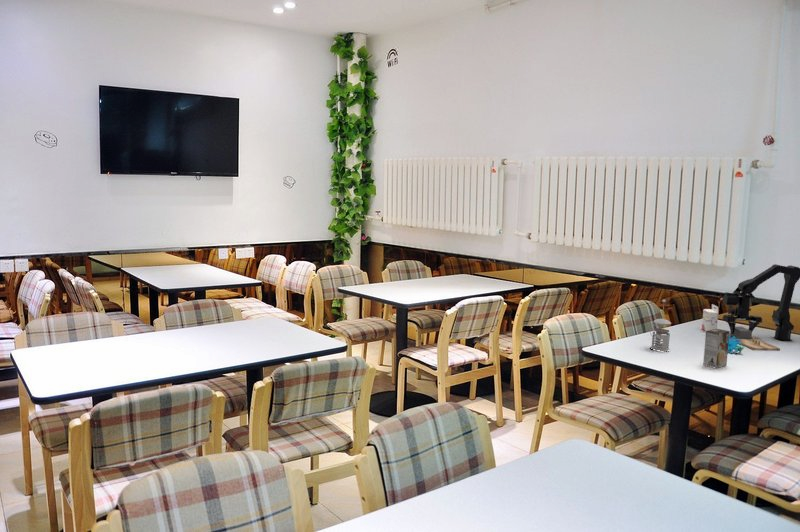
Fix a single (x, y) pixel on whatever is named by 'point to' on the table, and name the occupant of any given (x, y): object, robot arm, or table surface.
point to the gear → (734, 345)
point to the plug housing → (741, 333)
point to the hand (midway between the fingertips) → (740, 334)
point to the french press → (660, 335)
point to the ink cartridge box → (710, 318)
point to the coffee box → (716, 348)
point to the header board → (757, 344)
